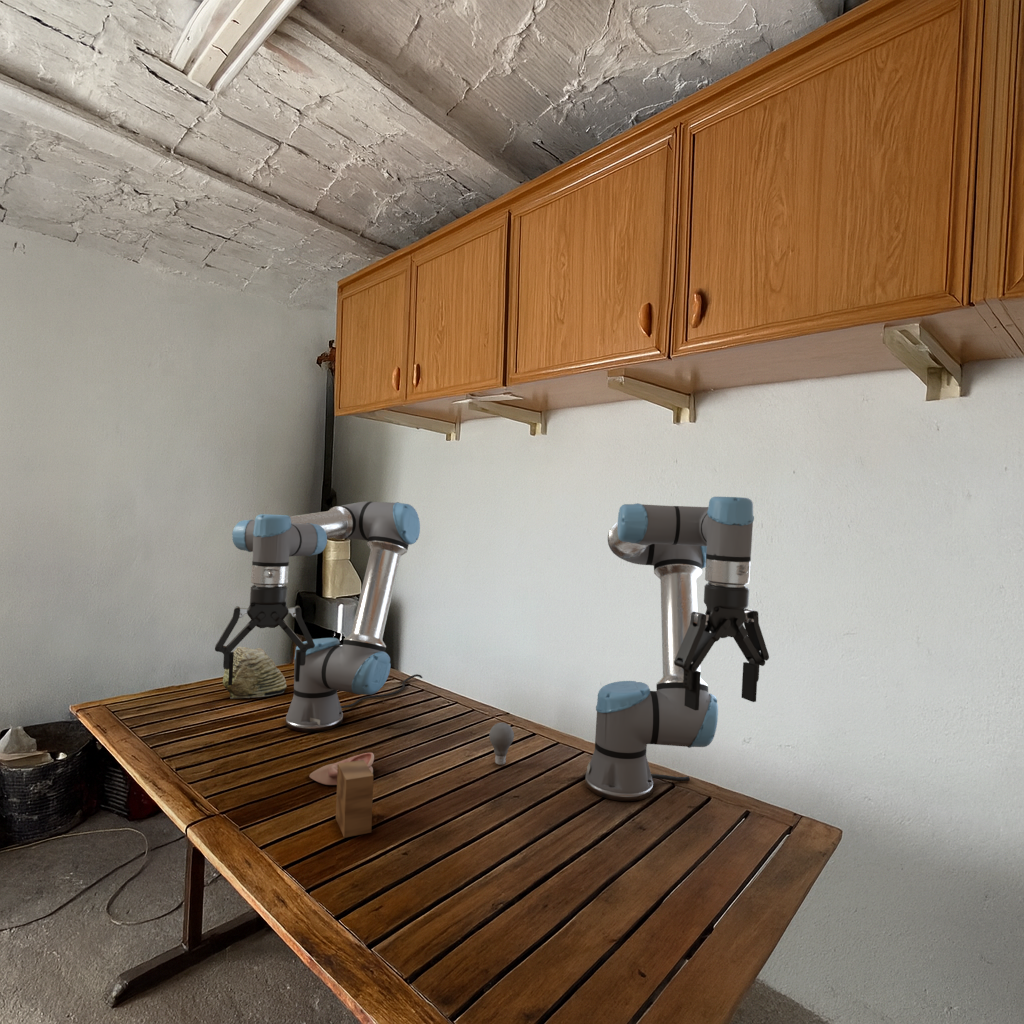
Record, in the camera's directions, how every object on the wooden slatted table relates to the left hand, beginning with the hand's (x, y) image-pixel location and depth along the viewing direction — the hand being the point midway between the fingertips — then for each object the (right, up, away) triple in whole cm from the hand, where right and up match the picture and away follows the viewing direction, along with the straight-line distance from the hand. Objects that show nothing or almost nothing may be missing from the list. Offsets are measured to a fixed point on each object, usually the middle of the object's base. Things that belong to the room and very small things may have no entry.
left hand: (264, 682), depth 138 cm
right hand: (+91, +3, -26) cm, 95 cm away
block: (+23, -24, -15) cm, 37 cm away
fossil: (-26, -20, +60) cm, 68 cm away
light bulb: (+51, -24, +16) cm, 59 cm away
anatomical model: (+15, -23, +6) cm, 28 cm away
